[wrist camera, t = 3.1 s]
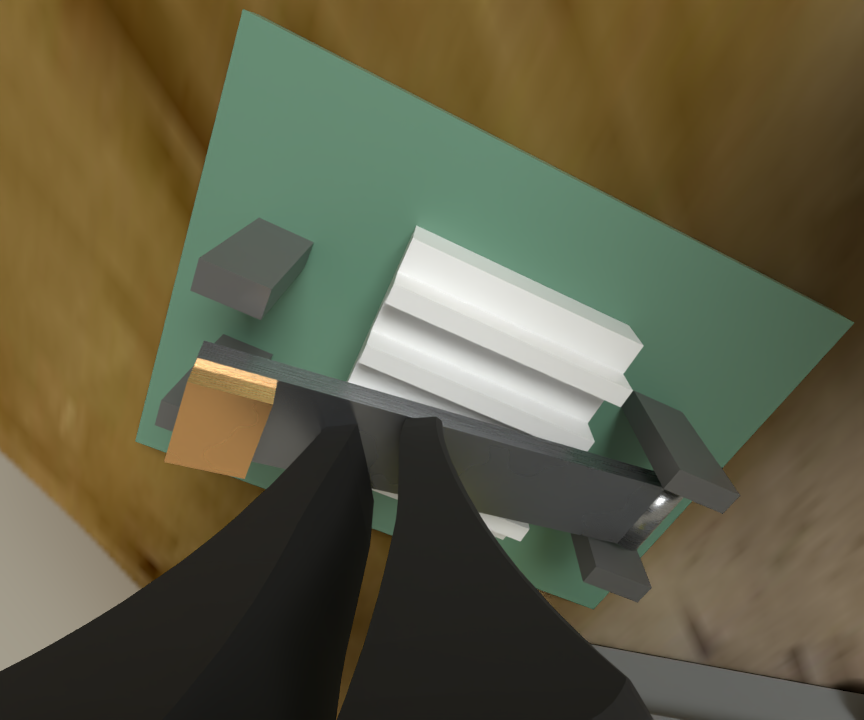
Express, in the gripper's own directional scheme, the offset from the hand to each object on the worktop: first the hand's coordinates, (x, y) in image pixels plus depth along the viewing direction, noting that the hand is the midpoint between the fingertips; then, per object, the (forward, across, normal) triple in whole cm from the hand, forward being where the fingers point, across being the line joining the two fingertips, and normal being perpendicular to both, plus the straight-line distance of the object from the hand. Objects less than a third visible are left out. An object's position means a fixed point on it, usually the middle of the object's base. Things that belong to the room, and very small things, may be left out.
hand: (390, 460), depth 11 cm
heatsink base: (+5, -2, +1) cm, 5 cm away
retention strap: (+1, -1, +1) cm, 2 cm away
